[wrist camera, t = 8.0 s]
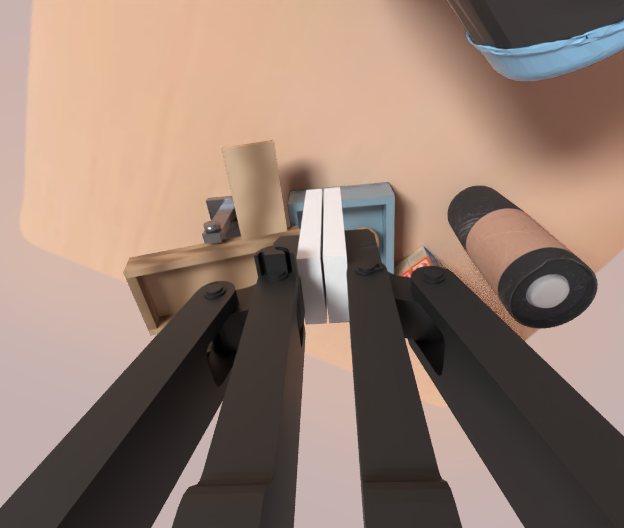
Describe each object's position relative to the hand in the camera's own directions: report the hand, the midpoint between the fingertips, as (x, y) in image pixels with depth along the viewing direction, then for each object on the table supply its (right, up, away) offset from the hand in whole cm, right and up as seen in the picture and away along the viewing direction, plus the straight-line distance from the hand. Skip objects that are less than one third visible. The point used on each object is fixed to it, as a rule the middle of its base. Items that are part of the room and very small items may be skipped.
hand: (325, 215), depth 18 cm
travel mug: (+21, +5, +32) cm, 39 cm away
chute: (-13, +2, +28) cm, 31 cm away
